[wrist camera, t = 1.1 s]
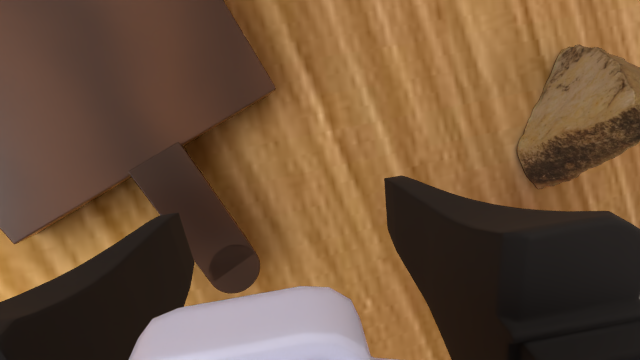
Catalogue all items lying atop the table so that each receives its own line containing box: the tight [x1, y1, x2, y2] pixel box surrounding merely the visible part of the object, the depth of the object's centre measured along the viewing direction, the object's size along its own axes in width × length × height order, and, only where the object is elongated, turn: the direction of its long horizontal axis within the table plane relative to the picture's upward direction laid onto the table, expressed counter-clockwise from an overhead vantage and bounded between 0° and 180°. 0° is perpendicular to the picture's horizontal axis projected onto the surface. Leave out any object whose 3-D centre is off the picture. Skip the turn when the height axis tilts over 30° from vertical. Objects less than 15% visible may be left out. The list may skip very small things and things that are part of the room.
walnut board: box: [0, 0, 276, 293], centre depth 18 cm, size 15×28×3 cm, turn 30°
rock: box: [517, 45, 640, 189], centre depth 28 cm, size 11×9×10 cm
